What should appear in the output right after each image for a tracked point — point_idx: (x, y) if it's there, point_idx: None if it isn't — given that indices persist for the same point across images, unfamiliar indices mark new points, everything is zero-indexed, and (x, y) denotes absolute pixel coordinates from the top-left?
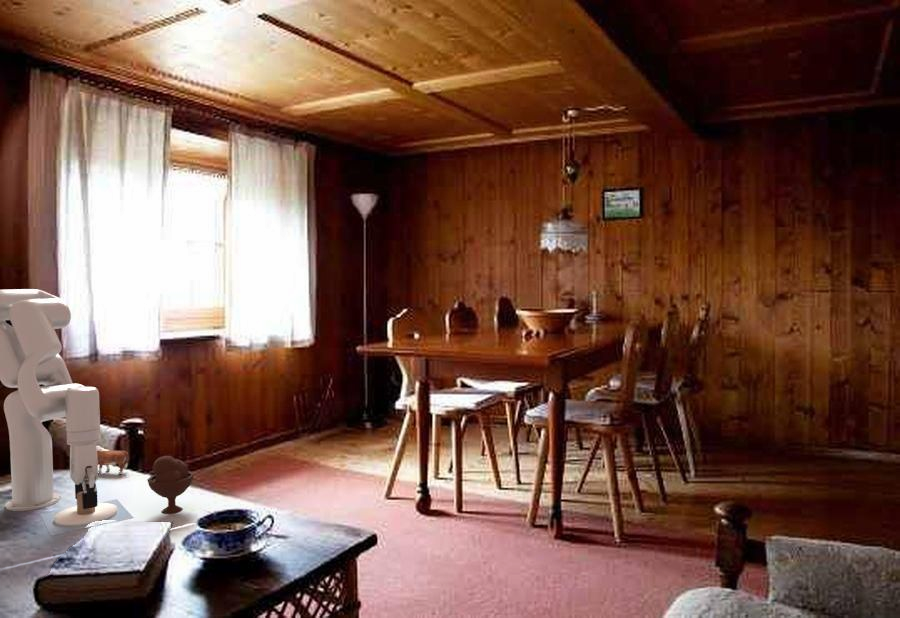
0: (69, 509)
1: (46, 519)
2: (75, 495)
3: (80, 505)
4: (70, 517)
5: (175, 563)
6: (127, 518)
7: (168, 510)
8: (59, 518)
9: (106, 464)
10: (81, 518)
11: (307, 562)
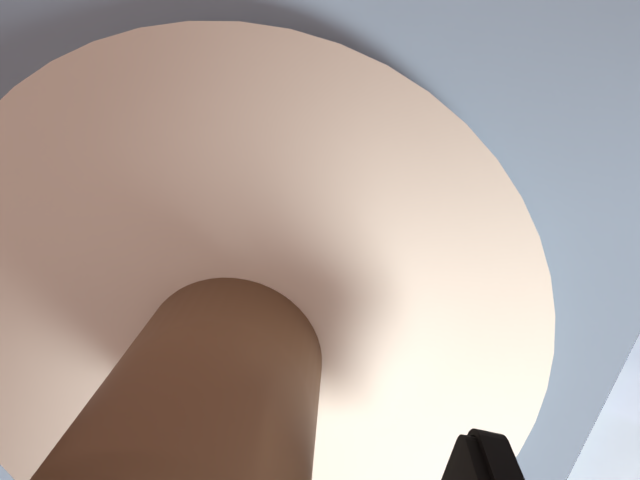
0: (494, 291)
1: (511, 9)
2: (504, 466)
3: (139, 350)
4: (181, 182)
5: None
6: None
7: None
8: (245, 77)
9: None
10: (47, 244)
11: None
